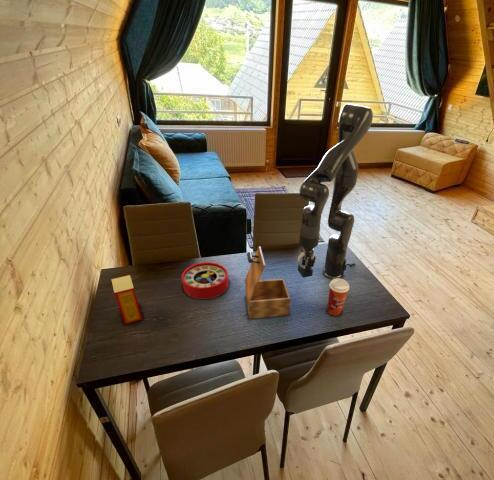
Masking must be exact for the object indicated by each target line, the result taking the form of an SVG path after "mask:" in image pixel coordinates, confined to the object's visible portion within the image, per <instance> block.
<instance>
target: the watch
mask: <svg viewBox="0 0 494 480" xmlns="http://www.w3.org/2000/svg"><path fill="white" fill-rule="evenodd" d="M303 256H304V251H303V252H301V251H300V253H299V255H298V256H297V260H296V261H297V263H298V264H297V272H298V273H299V274H300V276H301V277H302V279H305V278H308V277H309V278H310V277H313V275H314V269H313V267H311V271H310V273H305V265H302V257H303ZM313 256H315V253H314V254H313ZM317 260H318V259H317V258H315V262H314V265H315V264H316V263H317Z"/></svg>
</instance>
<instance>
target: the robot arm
mask: <svg viewBox="0 0 494 480" xmlns="http://www.w3.org/2000/svg"><path fill="white" fill-rule="evenodd" d="M373 118H374V113H373V110H372V108H370V107H368V106H364V105H359V104H353V103H345V105H343V107H342V108H341V110H340V113H339V118H338V127H337V128H338V129H337V130H338V131H337V144H335V145H334V146H333V147H331V148H330V149H329V150H328V151H327V152H326V153H325V154H324V155H323V156H322V159H321V161H320V162H319V164H318V166H317V168H315V170H313V172H311V173H310V175H308V177H306V178H305V179H304V180H303V182H302V183H301V185H300V186H299V197H300V198H301V199H303V200H304V201H307V202H309V203H313V204H314V205H307V206H304V208H303V209H302V216H301V223H300V224H301V225H300V230H299V245H300V253H301V252H303V251H304V256H303V257H302V258H301V264H302V265H305V273H310V271H311V268H313V267H314V266H315V264H314V262H315V258H316V255H315V248H316V247H318V245H319V241H320V233H321V221H322V214H323V211H324V208H325V207H326V204H327V202H328V201H329V197H330V190H329V187H328V186H327V185H325V184H324V183H331V182H332V181H333V190H332V198H331V203H330V208H329V212H328V217H327V225H328V228H329V229H331V230H334V231H336V232H338V233H334V234H332V235H330V236H329V237H328V241H327V247H326V253H325V261H324V266H323V271H322V273H323V275H324V276H325V277H327V278H329V279H332V280H333V279H336V278H340V279H341V277H344V274H345V271H347V266H349V267H352V266H355V265H356V264H355V263H352V264H350V263H347V259H346V256H347V251H348V246H349V242H350V240H351V236H352V232H353V229H354V225H355V216H354V215H353V214H352V213H350V212H346V211H344V210H342V205H343V202H344V200H345V199H346V198H347V196H348V195H350V194H351V192H352V191H353V190H354V188H355V187H356V184H357V183H358V182H357V181H358V175H359V164H358V160H357V158H356V156H355V153H354V149H355V148H356V147H357V146H358V144H359V143H360V142H361V141H362V140H363V138H364V137H365V136H366V134H368V132H369V130H370V128H371V126H372V123H373ZM313 254H314V256H313ZM316 259H317V258H316Z"/></svg>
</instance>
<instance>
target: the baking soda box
mask: <svg viewBox="0 0 494 480" xmlns="http://www.w3.org/2000/svg"><path fill="white" fill-rule="evenodd" d="M110 281H111V283H112V284H111V285H112V289H113V294H114V296H115V299H116V302H117V306H118V308H119V311H120V314H121V317H122V320H123V323H124V325H128V324H132V323H134V322H138V321H142V320H144V318H143V315H142V311H141V308H140V306H139V300H138V297H137V294H136V291H135V288H134V285H133V280H132V277H131V274H127V275H122V276H119V277H113V278H111V280H110Z"/></svg>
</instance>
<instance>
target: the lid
mask: <svg viewBox="0 0 494 480" xmlns="http://www.w3.org/2000/svg"><path fill="white" fill-rule="evenodd" d="M262 250H263V249H262V246H260V245H258V247H257V249H256V252H255V254H253V253H252V252H251V251H250V252H248V251H247V253H246V256H247V262H248V263H249V264H250V266H249V269H248V271H247V274H246V276H245V278H244V285H245V293H246V292H247V298H248V301H249V302H250V300H251V298H252V295H253V293H254V291H255V289H256V286H257V284H258V282H259V280H261V277H262V275H263V272H264V271H265V268H266V261H265V257H264V254H263V251H262Z"/></svg>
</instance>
